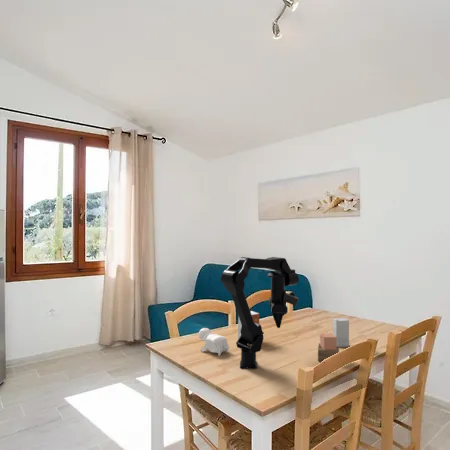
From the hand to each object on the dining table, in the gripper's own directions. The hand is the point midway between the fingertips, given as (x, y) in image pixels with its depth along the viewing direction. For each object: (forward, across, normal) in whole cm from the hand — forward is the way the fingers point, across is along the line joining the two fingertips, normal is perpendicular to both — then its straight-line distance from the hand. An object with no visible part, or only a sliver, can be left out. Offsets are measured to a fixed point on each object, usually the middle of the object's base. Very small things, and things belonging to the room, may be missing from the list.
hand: (277, 324), depth 141 cm
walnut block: (+13, -2, -21) cm, 25 cm away
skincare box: (+13, +15, -30) cm, 36 cm away
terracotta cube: (+8, -2, -20) cm, 22 cm away
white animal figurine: (+13, +3, +28) cm, 31 cm away
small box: (+13, +18, +12) cm, 25 cm away
